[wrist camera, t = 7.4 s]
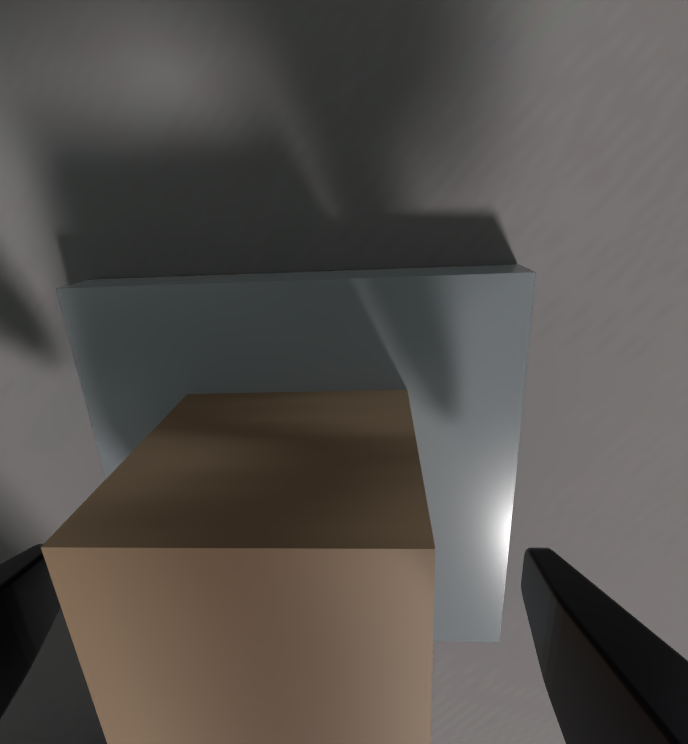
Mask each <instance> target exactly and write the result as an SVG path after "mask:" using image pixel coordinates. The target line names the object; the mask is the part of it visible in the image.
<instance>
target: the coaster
mask: <svg viewBox="0 0 688 744" xmlns="http://www.w3.org/2000/svg"><path fill="white" fill-rule="evenodd" d="M535 277H536V272H534V271H532V270H530V269H528V268H525V267H523V266H521V265H519V264H513V265H485V266H456V267H428V268H400V269H372V270H343V271H315V272H287V273H259V274H230V275H202V276H174V277H146V278H118V279H89V280H85V281H82V282H78V283H74V284H71V285H67V286H64V287H60V288H57V293H58V297H59V301H60V305H61V309H62V313H63V317H64V320H65V324H66V328H67V332H68V336H69V340H70V344H71V348H72V352H73V355H74V359H75V363H76V367H77V371H78V375H79V379H80V383H81V386H82V390H83V394H84V398H85V402H86V406H87V410H88V414H89V417H90V421H91V425H92V429H93V433H94V437H95V441H96V445H97V448H98V452H99V456H100V460H101V464H102V468H103V472H104V476H105V479H107V478H108V477H109V475H110V474H111V473H112V472H113V471H114V470H115V469H116V468H117V467H118V466H119V465H120V464H121V463H122V462H123V461H124V460H125V459H126V458H127V457H128V456H129V455H130V454H131V452H132V451H133V450H134V449H135V448H136V447H137V446H138V445H139V444H140V443H141V442H142V441H143V440H144V439H145V438H146V437H147V436H148V435H149V434H150V433H151V432H152V431H153V430H154V428H155V427H156V426H157V425H158V424H159V423H160V422H161V421H162V420H163V419H164V418H165V417H166V416H167V415H168V414H169V413H170V412H171V411H172V410H173V409H174V408H175V407H176V405H177V404H178V403H179V402H180V401H181V400H182V399H183V398H184V397H185V396H186V395H187V394H218V393H266V392H315V391H363V390H407V391H408V396H409V402H410V408H411V413H412V419H413V425H414V430H415V436H416V442H417V447H418V453H419V459H420V464H421V470H422V476H423V482H424V487H425V493H426V499H427V504H428V510H429V516H430V521H431V527H432V533H433V538H434V544H435V583H434V622H433V641H455V642H499V641H500V631H501V621H502V611H503V601H504V591H505V581H506V571H507V560H508V550H509V540H510V530H511V520H512V510H513V500H514V489H515V479H516V469H517V459H518V449H519V439H520V429H521V418H522V408H523V398H524V388H525V378H526V368H527V358H528V347H529V337H530V327H531V317H532V307H533V297H534V287H535Z"/></svg>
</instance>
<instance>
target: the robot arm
mask: <svg viewBox="0 0 688 744" xmlns="http://www.w3.org/2000/svg"><path fill="white" fill-rule="evenodd" d="M42 546H43V544H38V545H35V546H33V547H31V548H29V549H28V550H26V551H24V552H22V553H20V554H18V555H16V556H15V557H13V558H11V559H9V560H7V561H5V562H3V563H2V564H0V719H1V717H2V715H3V714H4V712H5V710H6V709H7V707H8V705H9V704H10V702H11V700H12V699H13V697H14V695H15V694H16V692H17V690H18V689H19V687H20V685H21V684H22V682H23V680H24V678H25V677H26V675H27V673H28V671H29V670H30V668H31V666H32V664H33V662H34V660H35V658H36V656H37V655H38V652H39V650H40V648H41V646H42V644H43V642H44V640H45V638H46V636H47V634H48V632H49V630H50V628H51V626H52V624H53V622H54V620H55V618H56V616H57V614H58V612H59V610H60V608H61V606H60V603H59V600H58V597H57V594H56V591H55V588H54V585H53V582H52V579H51V576H50V573H49V570H48V567H47V565H46V562H45V559H44V556H43V553H42V550H41V547H42ZM521 589H522V596H523V600H524V604H525V608H526V612H527V616H528V620H529V624H530V628H531V632H532V636H533V640H534V644H535V648H536V652H537V656H538V660H539V664H540V668H541V672H542V675H543V679H544V683H545V686H546V689H547V692H548V695H549V698H550V701H551V703H552V706H553V709H554V712H555V714H556V717H557V720H558V723H559V726H560V728H561V731H562V734H563V737H564V739H565V742H566V744H688V661H687V660H686V659H685V658H684V657H682V656H681V655H680V654H679V653H678V652H676V651H675V650H674V649H673V648H671V647H670V646H669V645H668V644H666V643H665V642H664V641H663V640H662V639H660V638H659V637H658V636H657V635H655V634H654V633H653V632H652V631H651V630H649V629H648V628H647V627H646V626H644V625H643V624H642V623H641V622H640V621H638V620H637V619H636V618H635V617H633V616H632V615H631V614H630V613H629V612H627V611H626V610H625V609H624V608H622V607H621V606H620V605H619V604H618V603H616V602H615V601H614V600H613V599H611V598H610V597H609V596H608V595H607V594H605V593H604V592H603V591H602V590H600V589H599V588H598V587H597V586H596V585H594V584H593V583H592V582H591V581H589V580H588V579H587V578H586V577H585V576H583V575H582V574H581V573H580V572H578V571H577V570H576V569H575V568H574V567H572V566H571V565H570V564H569V563H567V562H566V561H565V560H564V559H562V558H561V557H560V556H559V555H558V554H556V553H555V552H554V551H553V550H551V549H549V548H528V549H527V550H526V551H525V555H524V563H523V571H522V580H521Z"/></svg>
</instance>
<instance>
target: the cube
mask: <svg viewBox="0 0 688 744" xmlns="http://www.w3.org/2000/svg"><path fill="white" fill-rule="evenodd" d="M41 550H42V553H43V556H44V559H45V562H46V565H47V567H48V570H49V573H50V576H51V579H52V582H53V585H54V588H55V591H56V594H57V597H58V600H59V603H60V606H61V609H62V612H63V615H64V618H65V621H66V624H67V627H68V629H69V632H70V635H71V638H72V641H73V644H74V647H75V650H76V653H77V656H78V659H79V662H80V665H81V668H82V671H83V674H84V677H85V680H86V683H87V686H88V688H89V691H90V694H91V697H92V700H93V703H94V706H95V709H96V712H97V715H98V718H99V721H100V724H101V727H102V730H103V733H104V736H105V739H106V742H107V744H430V739H431V700H432V661H433V622H434V583H435V544H434V538H433V533H432V527H431V521H430V516H429V510H428V504H427V499H426V493H425V487H424V482H423V476H422V470H421V464H420V459H419V453H418V447H417V442H416V436H415V430H414V425H413V419H412V413H411V408H410V402H409V396H408V391H407V390H363V391H315V392H266V393H218V394H187V395H186V396H185V397H184V398H183V399H182V400H181V401H180V402H179V403H178V404H177V405H176V407H175V408H174V409H173V410H172V411H171V412H170V413H169V414H168V415H167V416H166V417H165V418H164V419H163V420H162V421H161V422H160V423H159V424H158V425H157V426H156V427H155V428H154V430H153V431H152V432H151V433H150V434H149V435H148V436H147V437H146V438H145V439H144V440H143V441H142V442H141V443H140V444H139V445H138V446H137V447H136V448H135V449H134V450H133V451H132V452H131V454H130V455H129V456H128V457H127V458H126V459H125V460H124V461H123V462H122V463H121V464H120V465H119V466H118V467H117V468H116V469H115V470H114V471H113V472H112V473H111V474H110V475H109V477H108V478H107V479H106V480H105V481H104V482H103V483H102V484H101V485H100V486H99V487H98V488H97V489H96V490H95V491H94V492H93V493H92V494H91V495H90V496H89V497H88V498H87V500H86V501H85V502H84V503H83V504H82V505H81V506H80V507H79V508H78V509H77V510H76V511H75V512H74V513H73V514H72V515H71V516H70V517H69V518H68V519H67V520H66V521H65V523H64V524H63V525H62V526H61V527H60V528H59V529H58V530H57V531H56V532H55V533H54V534H53V535H52V536H51V537H50V538H49V539H48V540H47V541H46V542H45V543H44V544H43V546H42V547H41Z"/></svg>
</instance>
